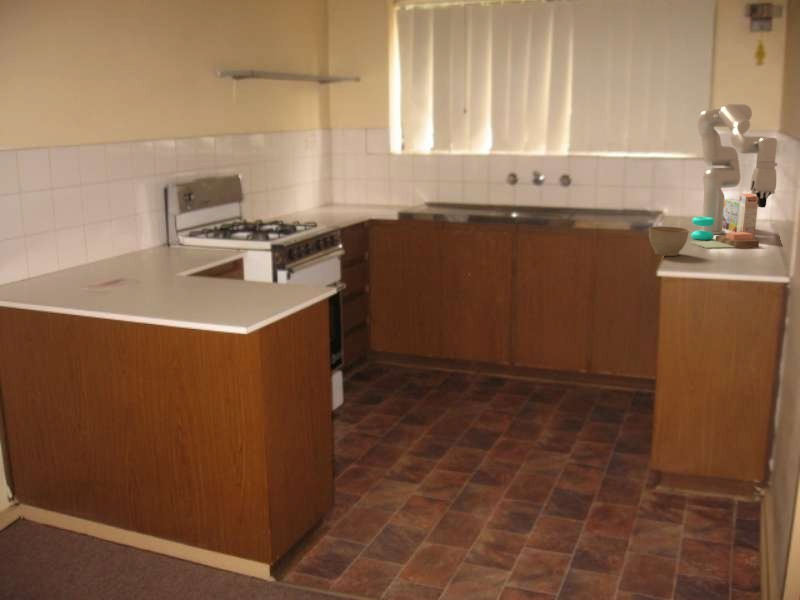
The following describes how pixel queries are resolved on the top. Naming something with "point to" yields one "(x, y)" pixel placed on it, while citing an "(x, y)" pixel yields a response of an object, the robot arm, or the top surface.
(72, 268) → the top surface
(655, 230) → the planter bowl
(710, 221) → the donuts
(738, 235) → the coral block
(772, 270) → the top surface
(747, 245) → the board
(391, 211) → the top surface
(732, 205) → the snack box
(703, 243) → the sage mat
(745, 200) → the cracker box
